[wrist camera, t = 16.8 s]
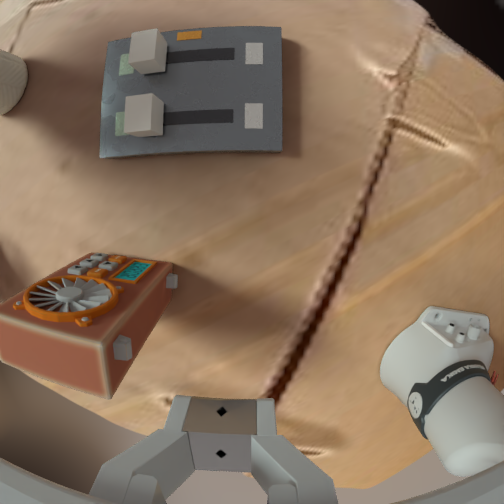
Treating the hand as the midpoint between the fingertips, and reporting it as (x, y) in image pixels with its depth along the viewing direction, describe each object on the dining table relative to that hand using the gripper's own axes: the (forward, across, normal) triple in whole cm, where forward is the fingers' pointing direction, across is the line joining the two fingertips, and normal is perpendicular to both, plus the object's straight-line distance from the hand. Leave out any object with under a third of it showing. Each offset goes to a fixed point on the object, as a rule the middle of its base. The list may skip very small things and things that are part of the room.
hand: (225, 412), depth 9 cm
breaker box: (+31, -7, +18) cm, 37 cm away
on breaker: (+28, -11, +14) cm, 33 cm away
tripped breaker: (+28, -11, +22) cm, 37 cm away
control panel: (+31, -16, -6) cm, 36 cm away
